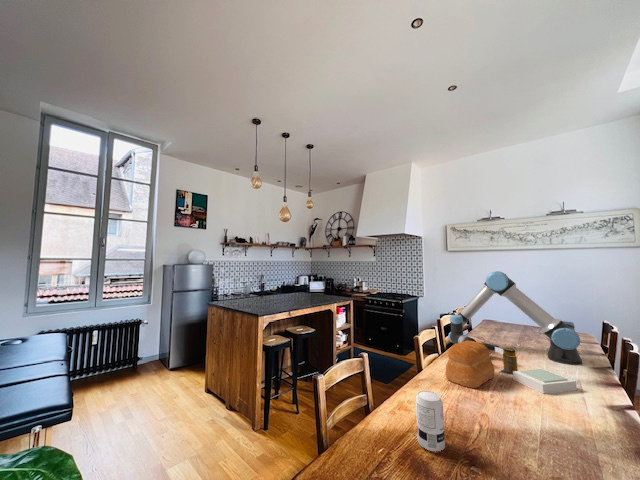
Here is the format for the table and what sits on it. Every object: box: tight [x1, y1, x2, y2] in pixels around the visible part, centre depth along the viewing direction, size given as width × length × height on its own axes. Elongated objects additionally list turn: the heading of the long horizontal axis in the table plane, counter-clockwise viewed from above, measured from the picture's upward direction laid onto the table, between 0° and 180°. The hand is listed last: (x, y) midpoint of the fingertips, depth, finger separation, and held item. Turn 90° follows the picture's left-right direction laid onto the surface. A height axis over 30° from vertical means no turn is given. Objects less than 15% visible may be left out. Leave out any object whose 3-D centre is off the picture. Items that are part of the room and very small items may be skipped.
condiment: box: [498, 347, 519, 377], centre depth 141 cm, size 7×8×12 cm
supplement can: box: [415, 390, 446, 452], centre depth 85 cm, size 8×8×15 cm
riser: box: [512, 368, 578, 395], centre depth 126 cm, size 18×15×5 cm
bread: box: [445, 341, 495, 389], centre depth 135 cm, size 16×26×17 cm, turn 128°
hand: (494, 353), depth 150 cm, fingers open, 13 cm apart
